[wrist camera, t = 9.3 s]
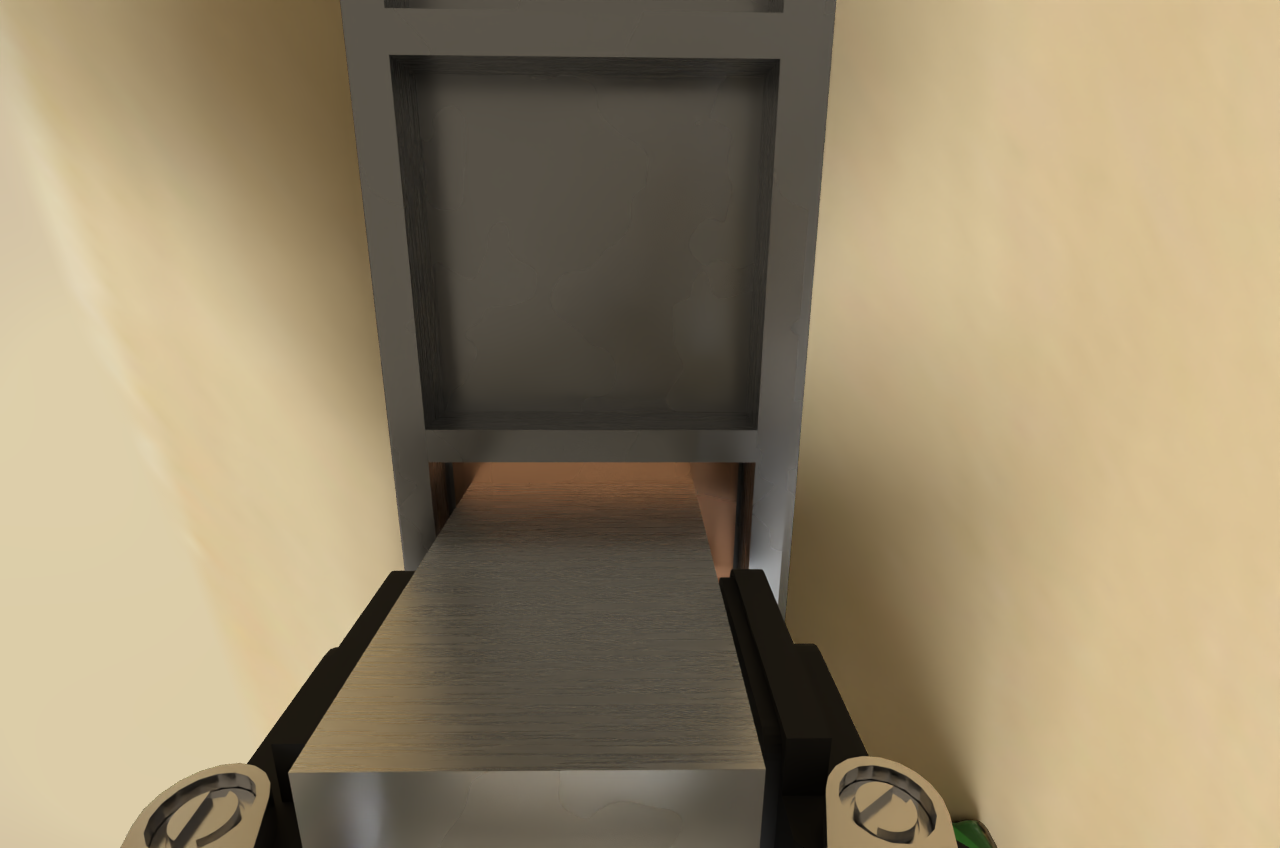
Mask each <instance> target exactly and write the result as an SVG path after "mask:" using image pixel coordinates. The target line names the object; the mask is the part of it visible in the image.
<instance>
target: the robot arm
mask: <svg viewBox="0 0 1280 848" xmlns="http://www.w3.org/2000/svg"><path fill="white" fill-rule="evenodd" d="M414 573H415V571H392V572H391V573H390V574H389V575H388V577H387V578H386V580H385V581H384V583H383V584H382V585H381V587H380V588H379V590H378V591H377V593H376V594H375V595H374V597H373V598H372V600H371V601H370V603H369V604H368V605H367V607H366V608H365V610H364V611H363V613H362V614H361V615H360V617H359V618H358V620H357V621H356V623H355V624H354V626H353V627H352V628H351V630H350V631H349V633H348V634H347V636H346V637H345V638H344V640H343V641H342V643H341V644H340V646H339V647H336V648H333V649H330V650H329V651H328V652H327V654H326V655H325V656H324V657H323V658H322V660H321V661H320V663H319V664H318V665H317V667H316V668H315V670H314V671H313V672H312V674H311V675H310V677H309V678H308V679H307V681H306V682H305V684H304V685H303V686H302V688H301V689H300V691H299V692H298V693H297V695H296V696H295V698H294V699H293V700H292V702H291V703H290V705H289V706H288V707H287V709H286V710H285V711H284V713H283V714H282V716H281V717H280V718H279V720H278V721H277V723H276V724H275V725H274V727H273V728H272V730H271V731H270V732H269V734H268V735H267V737H266V738H265V739H264V741H263V742H262V744H261V745H260V746H259V748H258V749H257V751H256V752H255V753H254V755H253V756H252V758H251V759H250V760H249V762H248V763H247V764H242V763H236V764H225V765H219V766H216V767H213V768H209V769H205V770H202V771H199V772H197V773H195V774H193V775H191V776H189V777H187V778H185V779H182V780H180V781H179V782H177V783H176V784H174V785H173V786H171V787H170V788H168V789H167V790H165V791H164V792H162V793H161V794H159V795H158V796H157V797H156V798H155V799H154V800H153V801H152V802H151V803H150V804H149V805H148V806H147V807H146V808H144V809H143V811H142V812H141V814H140V815H139V816H138V818H137V819H136V821H135V822H134V824H133V825H132V827H131V828H130V830H129V832H128V834H127V836H126V838H125V840H124V842H123V844H122V846H121V848H303V847H302V842H301V837H300V832H299V827H298V821H297V816H296V811H295V806H294V801H293V795H292V790H291V785H290V780H289V775H288V772H289V771H290V769H291V767H292V766H293V764H294V763H295V761H296V759H297V758H298V756H299V755H300V753H301V752H302V750H303V748H304V747H305V745H306V744H307V742H308V740H309V739H310V737H311V736H312V734H313V733H314V731H315V729H316V728H317V726H318V725H319V723H320V721H321V720H322V718H323V717H324V715H325V714H326V712H327V710H328V709H329V707H330V706H331V704H332V703H333V701H334V699H335V698H336V696H337V695H338V693H339V691H340V690H341V688H342V687H343V685H344V684H345V682H346V680H347V679H348V677H349V676H350V674H351V672H352V671H353V669H354V668H355V666H356V665H357V663H358V661H359V660H360V658H361V657H362V655H363V653H364V652H365V650H366V649H367V647H368V646H369V644H370V642H371V641H372V639H373V638H374V636H375V634H376V633H377V631H378V630H379V628H380V627H381V625H382V623H383V622H384V620H385V619H386V617H387V616H388V614H389V612H390V611H391V609H392V608H393V606H394V604H395V603H396V601H397V600H398V598H399V597H400V595H401V593H402V592H403V590H404V589H405V587H406V585H407V584H408V582H409V581H410V579H411V578H412V576H413V574H414ZM719 586H720V590H721V594H722V598H723V602H724V606H725V610H726V614H727V618H728V622H729V626H730V630H731V634H732V638H733V642H734V646H735V650H736V653H737V657H738V661H739V665H740V669H741V673H742V677H743V681H744V685H745V689H746V693H747V697H748V701H749V705H750V709H751V713H752V717H753V721H754V725H755V729H756V733H757V737H758V741H759V744H760V748H761V752H762V756H763V760H764V764H765V768H766V772H765V785H764V797H763V810H762V823H761V836H760V848H969V847H968V846H966V845H964V844H963V843H961V842H959V841H958V840H956V838H955V834H954V830H953V826H952V822H951V818H950V814H949V812H948V809H947V807H946V805H945V802H944V800H943V798H942V797H941V796H940V795H939V793H938V792H937V791H936V790H935V788H934V787H933V786H932V785H931V784H930V783H929V782H928V781H927V780H925V779H924V778H923V777H922V776H920V775H919V774H918V773H917V772H915V771H913V770H911V769H909V768H907V767H906V766H904V765H902V764H900V763H898V762H894V761H891V760H888V759H884V758H881V757H869V756H868V754H867V752H866V750H865V747H864V745H863V743H862V741H861V739H860V737H859V735H858V732H857V730H856V728H855V726H854V724H853V722H852V719H851V717H850V715H849V713H848V711H847V709H846V706H845V704H844V702H843V700H842V698H841V696H840V693H839V691H838V689H837V687H836V685H835V683H834V681H833V678H832V676H831V674H830V672H829V670H828V668H827V665H826V663H825V661H824V659H823V657H822V655H821V652H820V651H819V649H818V647H817V646H816V645H814V644H793V641H792V639H791V636H790V634H789V631H788V629H787V627H786V624H785V622H784V619H783V617H782V614H781V612H780V609H779V607H778V604H777V602H776V600H775V597H774V595H773V592H772V590H771V587H770V585H769V582H768V580H767V577H766V575H765V573H764V571H763V569H731V571H730V577H720V579H719Z"/></svg>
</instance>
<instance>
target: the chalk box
mask: <svg viewBox="0 0 1280 848" xmlns="http://www.w3.org/2000/svg"><path fill="white" fill-rule="evenodd" d="M952 826H953V830H954V834H955V838H956V840H958V841H959V842H961V843H963V844H964V845H966V846H968V847H969V848H997V846H996V844H995V842H994V840H993V839H992V837H991V835H990V833H989V831H988V829H987V828H986V827H985V825H984V824H983V823H981V822H979V821H975V820H964V821H961V822H957V823H952Z"/></svg>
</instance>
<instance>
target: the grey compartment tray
mask: <svg viewBox="0 0 1280 848" xmlns="http://www.w3.org/2000/svg"><path fill="white" fill-rule="evenodd" d="M340 4H341V13H342V22H343V31H344V40H345V48H346V57H347V66H348V75H349V84H350V92H351V101H352V110H353V119H354V128H355V136H356V145H357V154H358V163H359V172H360V180H361V189H362V198H363V207H364V216H365V225H366V233H367V242H368V251H369V260H370V269H371V277H372V286H373V295H374V304H375V313H376V321H377V330H378V339H379V348H380V357H381V365H382V374H383V383H384V392H385V401H386V410H387V418H388V427H389V436H390V445H391V454H392V462H393V471H394V480H395V489H396V498H397V506H398V515H399V524H400V533H401V542H402V550H403V559H404V568H405V571H416V570H417V568H418V566H419V565H420V563H421V562H422V560H423V559H424V557H425V555H426V554H427V552H428V551H429V549H430V547H431V546H432V544H433V543H434V541H435V540H436V538H437V536H438V535H439V533H440V532H441V530H442V529H443V527H444V525H445V524H446V522H447V521H448V519H449V517H450V516H451V514H452V513H453V511H454V510H455V508H456V506H457V505H458V503H459V502H460V500H461V498H462V497H463V495H464V494H465V492H466V491H467V489H468V487H469V486H470V484H694V487H695V491H696V495H697V499H698V503H699V507H700V511H701V515H702V519H703V523H704V527H705V531H706V535H707V539H708V543H709V547H710V551H711V555H712V559H713V562H714V566H715V570H716V574H717V578H718V582H719V579H720V577H730V571H731V569H763V571H764V573H765V575H766V577H767V580H768V582H769V585H770V587H771V590H772V592H773V595H774V597H775V600H776V602H777V604H778V607H779V609H780V612H781V614H782V617H783V619H784V622H785V614H786V602H787V590H788V578H789V566H790V554H791V542H792V529H793V517H794V505H795V493H796V481H797V469H798V457H799V445H800V433H801V421H802V408H803V396H804V384H805V372H806V360H807V348H808V336H809V324H810V312H811V300H812V287H813V275H814V263H815V251H816V239H817V227H818V215H819V203H820V191H821V179H822V167H823V154H824V142H825V130H826V118H827V106H828V94H829V82H830V70H831V58H832V46H833V33H834V21H835V9H836V0H340Z"/></svg>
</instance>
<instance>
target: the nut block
mask: <svg viewBox="0 0 1280 848" xmlns="http://www.w3.org/2000/svg"><path fill="white" fill-rule="evenodd" d="M765 772H766V768H765V764H764V760H763V756H762V752H761V748H760V744H759V741H758V737H757V733H756V729H755V725H754V721H753V717H752V713H751V709H750V705H749V701H748V697H747V693H746V689H745V685H744V681H743V677H742V673H741V669H740V665H739V661H738V657H737V653H736V650H735V646H734V642H733V638H732V634H731V630H730V626H729V622H728V618H727V614H726V610H725V606H724V602H723V598H722V594H721V590H720V586H719V582H718V578H717V574H716V570H715V566H714V562H713V559H712V555H711V551H710V547H709V543H708V539H707V535H706V531H705V527H704V523H703V519H702V515H701V511H700V507H699V503H698V499H697V495H696V491H695V487H694V484H470V486H469V487H468V489H467V491H466V492H465V494H464V495H463V497H462V498H461V500H460V502H459V503H458V505H457V506H456V508H455V510H454V511H453V513H452V514H451V516H450V517H449V519H448V521H447V522H446V524H445V525H444V527H443V529H442V530H441V532H440V533H439V535H438V536H437V538H436V540H435V541H434V543H433V544H432V546H431V547H430V549H429V551H428V552H427V554H426V555H425V557H424V559H423V560H422V562H421V563H420V565H419V566H418V568H417V570H416V571H415V573H414V574H413V576H412V578H411V579H410V581H409V582H408V584H407V585H406V587H405V589H404V590H403V592H402V593H401V595H400V597H399V598H398V600H397V601H396V603H395V604H394V606H393V608H392V609H391V611H390V612H389V614H388V616H387V617H386V619H385V620H384V622H383V623H382V625H381V627H380V628H379V630H378V631H377V633H376V634H375V636H374V638H373V639H372V641H371V642H370V644H369V646H368V647H367V649H366V650H365V652H364V653H363V655H362V657H361V658H360V660H359V661H358V663H357V665H356V666H355V668H354V669H353V671H352V672H351V674H350V676H349V677H348V679H347V680H346V682H345V684H344V685H343V687H342V688H341V690H340V691H339V693H338V695H337V696H336V698H335V699H334V701H333V703H332V704H331V706H330V707H329V709H328V710H327V712H326V714H325V715H324V717H323V718H322V720H321V721H320V723H319V725H318V726H317V728H316V729H315V731H314V733H313V734H312V736H311V737H310V739H309V740H308V742H307V744H306V745H305V747H304V748H303V750H302V752H301V753H300V755H299V756H298V758H297V759H296V761H295V763H294V764H293V766H292V767H291V769H290V771H289V772H288V775H289V780H290V785H291V790H292V795H293V801H294V806H295V811H296V816H297V821H298V827H299V832H300V837H301V842H302V847H303V848H760V836H761V823H762V810H763V797H764V785H765Z"/></svg>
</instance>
